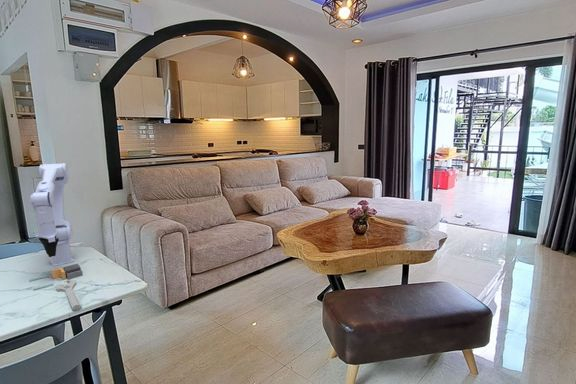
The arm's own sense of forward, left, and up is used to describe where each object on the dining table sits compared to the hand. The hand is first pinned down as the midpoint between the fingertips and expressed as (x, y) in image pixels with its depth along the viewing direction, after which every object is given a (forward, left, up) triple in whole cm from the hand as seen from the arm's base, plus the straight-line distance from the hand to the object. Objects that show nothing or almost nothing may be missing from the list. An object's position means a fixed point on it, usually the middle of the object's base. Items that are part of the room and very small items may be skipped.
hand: (51, 255), depth 133 cm
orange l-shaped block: (+5, +1, -8) cm, 10 cm away
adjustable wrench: (+25, 0, -9) cm, 27 cm away
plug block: (+5, +5, -9) cm, 12 cm away
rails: (+5, -5, -8) cm, 11 cm away
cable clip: (+5, +5, -8) cm, 11 cm away
